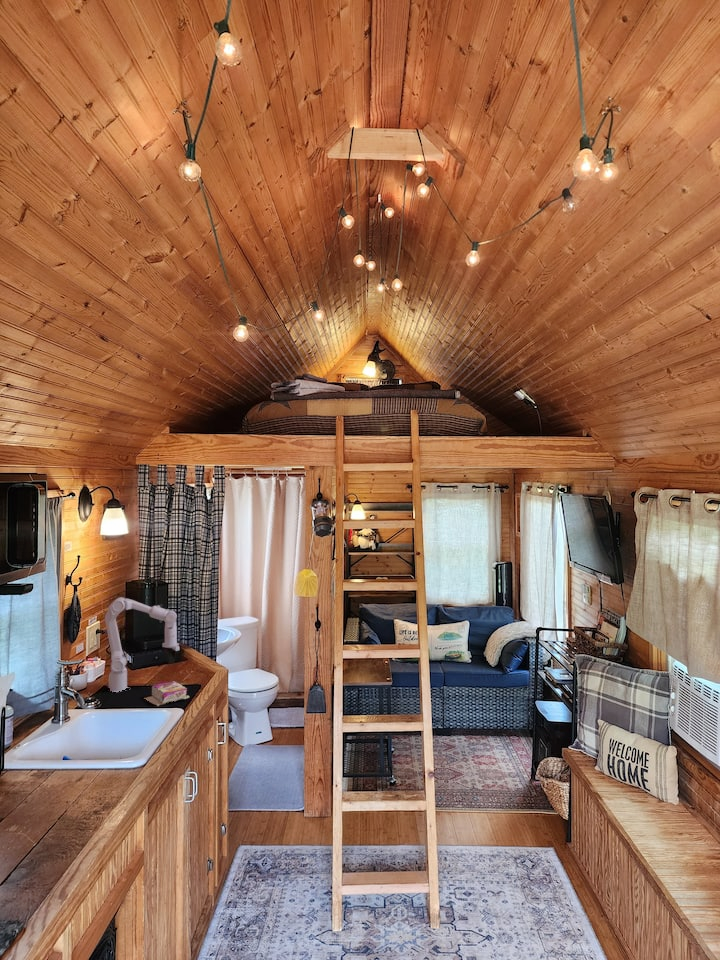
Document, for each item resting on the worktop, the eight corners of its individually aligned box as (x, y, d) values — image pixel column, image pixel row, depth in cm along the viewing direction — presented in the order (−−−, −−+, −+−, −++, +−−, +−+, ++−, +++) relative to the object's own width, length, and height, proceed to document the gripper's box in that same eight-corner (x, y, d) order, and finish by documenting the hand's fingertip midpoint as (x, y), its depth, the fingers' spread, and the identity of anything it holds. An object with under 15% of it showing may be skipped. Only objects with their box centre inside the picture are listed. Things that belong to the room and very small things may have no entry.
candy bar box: (175, 680, 272) (187, 687, 259) (175, 690, 271) (187, 699, 258) (151, 684, 265) (162, 692, 252) (151, 695, 265) (162, 704, 252)
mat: (144, 699, 261) (144, 698, 261) (174, 691, 272) (174, 690, 272) (157, 705, 251) (157, 704, 251) (189, 697, 262) (189, 696, 262)
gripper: (185, 636, 284) (185, 664, 283) (171, 632, 294) (171, 659, 293) (171, 638, 279) (172, 666, 278) (158, 635, 289) (158, 662, 288)
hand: (171, 663), depth 285 cm, fingers closed
